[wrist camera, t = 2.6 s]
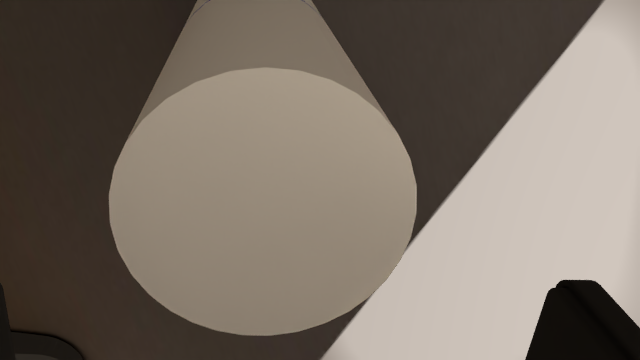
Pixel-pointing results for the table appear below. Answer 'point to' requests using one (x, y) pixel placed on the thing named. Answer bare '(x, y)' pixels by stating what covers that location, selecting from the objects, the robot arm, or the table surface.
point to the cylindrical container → (261, 175)
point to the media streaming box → (42, 348)
